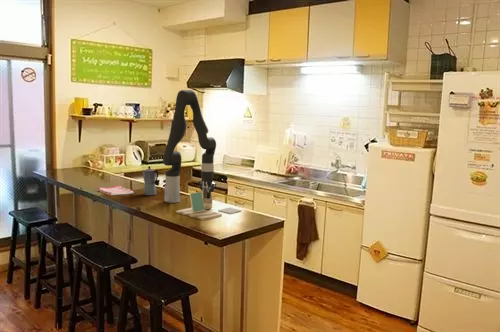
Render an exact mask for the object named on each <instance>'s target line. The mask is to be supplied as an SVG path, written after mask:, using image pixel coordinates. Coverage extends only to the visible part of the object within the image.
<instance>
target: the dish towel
mask: <svg viewBox="0 0 500 332" xmlns="http://www.w3.org/2000/svg"><path fill="white" fill-rule="evenodd" d="M97 190H98V191H99V192H100V193H103V194H104V193H105V195H107V196H111V197H114V196H124V195H125V196H126V195H133V194H135V193H134V191H133V190H132V189H129V188H126V187H123V186H121V184H118V185H115V186H113V187H98V188H97Z"/></svg>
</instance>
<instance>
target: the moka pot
mask: <svg viewBox="0 0 500 332" xmlns="http://www.w3.org/2000/svg"><path fill="white" fill-rule="evenodd" d="M142 177H143V182H144V186H143V187H144V189H143V195H145V196H154V195H157V187H156V184H157V183H158V178H159V172H158V170H157V169H152V168H151V166H150V165H149V166H148V167H147V169H142Z"/></svg>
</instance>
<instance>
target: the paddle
mask: <svg viewBox="0 0 500 332" xmlns="http://www.w3.org/2000/svg"><path fill="white" fill-rule="evenodd" d="M207 193H208V192H207V189H203V191H202V197H203V203H204V209H205V210H208V209H212V208H213V196H211V198H210V199H207Z"/></svg>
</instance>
